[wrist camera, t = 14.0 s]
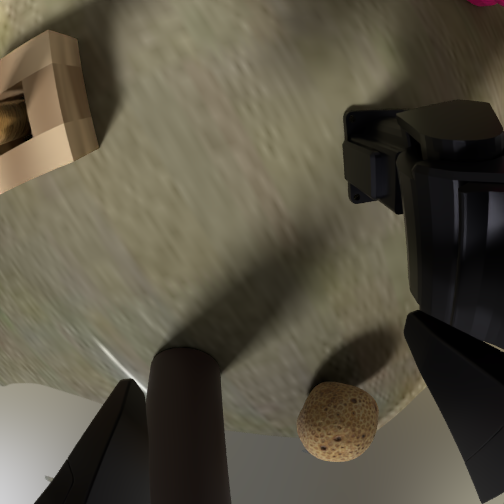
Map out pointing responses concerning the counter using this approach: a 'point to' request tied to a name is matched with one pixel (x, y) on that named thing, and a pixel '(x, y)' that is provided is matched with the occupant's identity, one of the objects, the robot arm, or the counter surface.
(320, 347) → the counter surface
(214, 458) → the bottle
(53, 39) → the tan square ring block
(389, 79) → the counter surface
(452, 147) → the robot arm
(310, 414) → the natural sponge
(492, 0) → the pepper mill
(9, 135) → the T-key
